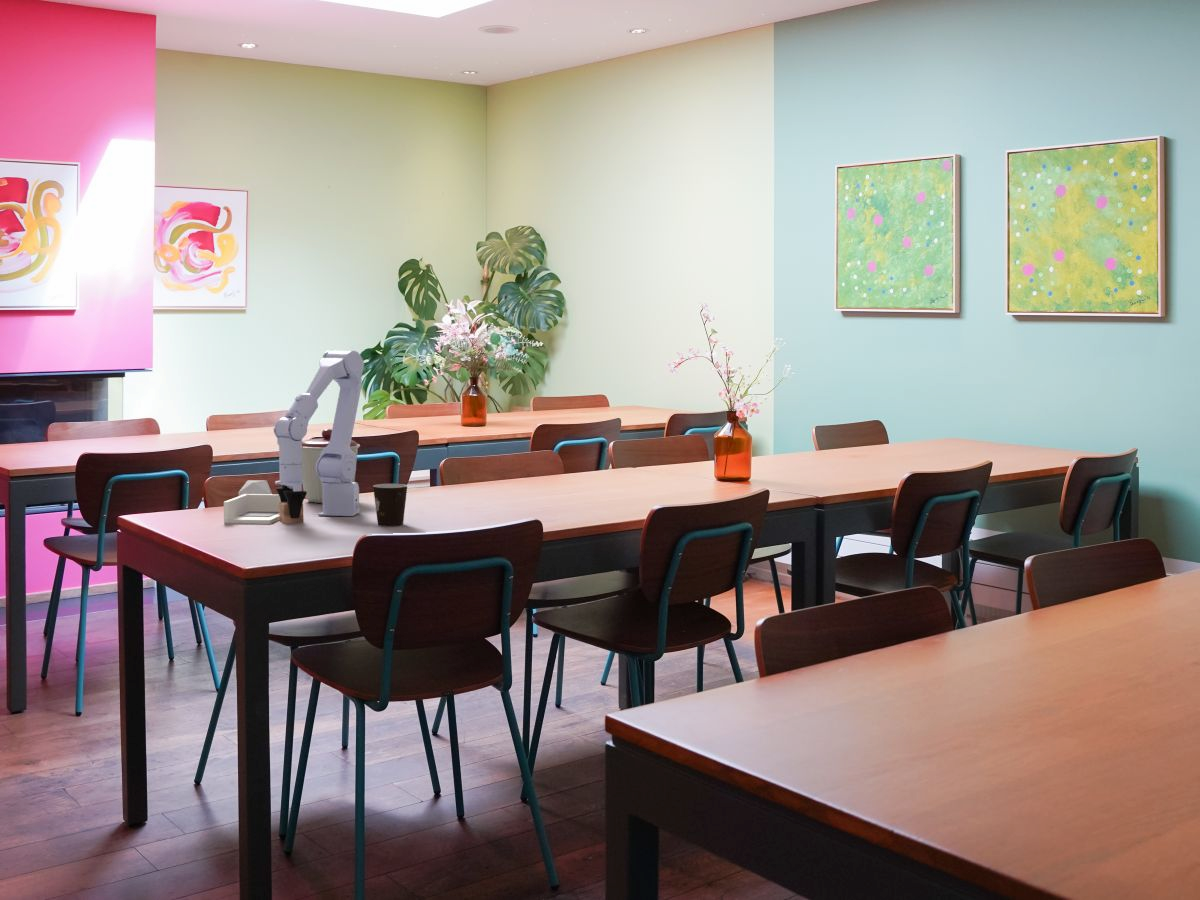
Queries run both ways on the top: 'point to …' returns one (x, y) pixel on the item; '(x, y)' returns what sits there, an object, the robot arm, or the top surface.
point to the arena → (252, 509)
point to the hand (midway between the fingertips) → (291, 516)
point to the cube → (286, 516)
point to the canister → (309, 460)
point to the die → (255, 487)
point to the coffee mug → (390, 503)
